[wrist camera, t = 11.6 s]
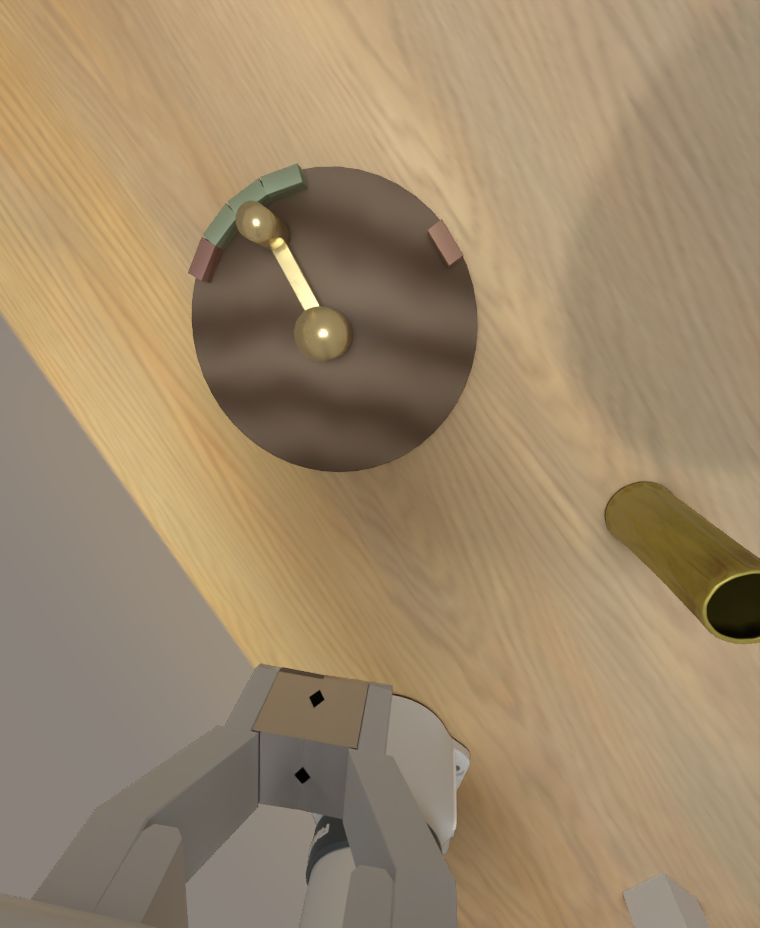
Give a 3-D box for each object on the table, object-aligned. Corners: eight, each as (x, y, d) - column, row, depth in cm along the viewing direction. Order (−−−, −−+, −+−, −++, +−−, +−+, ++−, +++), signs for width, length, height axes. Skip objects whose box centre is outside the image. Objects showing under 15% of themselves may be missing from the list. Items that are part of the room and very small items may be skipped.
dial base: (453, 479, 40) (455, 493, 37) (207, 450, 42) (188, 460, 39) (497, 185, 33) (504, 169, 30) (198, 166, 35) (173, 149, 32)
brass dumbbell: (361, 344, 35) (352, 346, 31) (320, 367, 36) (306, 372, 32) (284, 198, 33) (262, 178, 29) (242, 227, 34) (215, 212, 30)
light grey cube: (696, 898, 52) (729, 967, 46) (654, 917, 54) (681, 987, 48) (662, 871, 51) (691, 938, 46) (621, 891, 53) (644, 959, 47)
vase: (590, 506, 39) (674, 597, 26) (653, 467, 38) (778, 543, 24) (627, 555, 40) (726, 667, 27) (689, 519, 39) (829, 619, 25)
